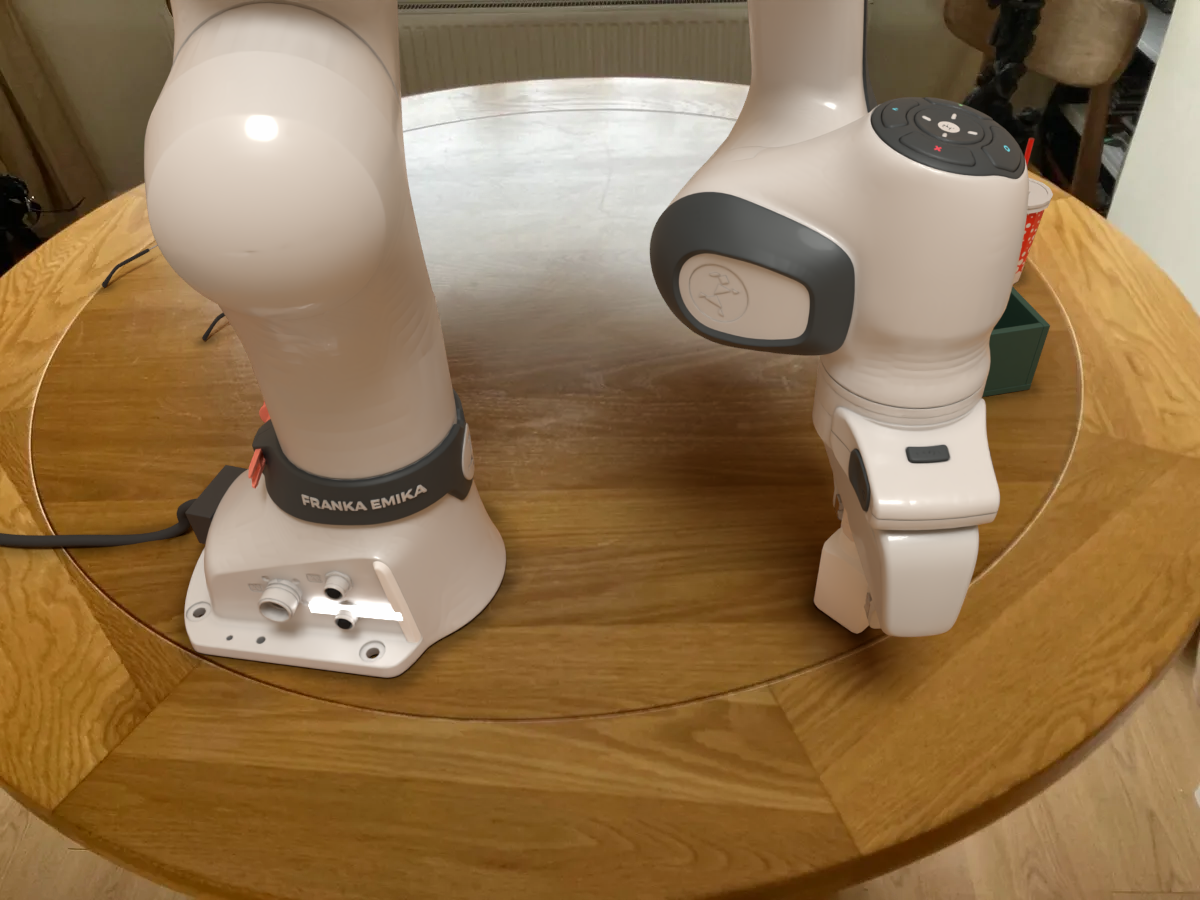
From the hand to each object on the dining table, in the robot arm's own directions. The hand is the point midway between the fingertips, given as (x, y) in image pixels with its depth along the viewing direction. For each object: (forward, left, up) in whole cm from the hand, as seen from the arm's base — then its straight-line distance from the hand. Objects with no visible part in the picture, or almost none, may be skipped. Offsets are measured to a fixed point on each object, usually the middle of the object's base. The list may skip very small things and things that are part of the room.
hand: (862, 563), depth 63 cm
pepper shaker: (0, 0, -4) cm, 4 cm away
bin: (+13, +27, -4) cm, 30 cm away
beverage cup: (+23, +41, -4) cm, 47 cm away
